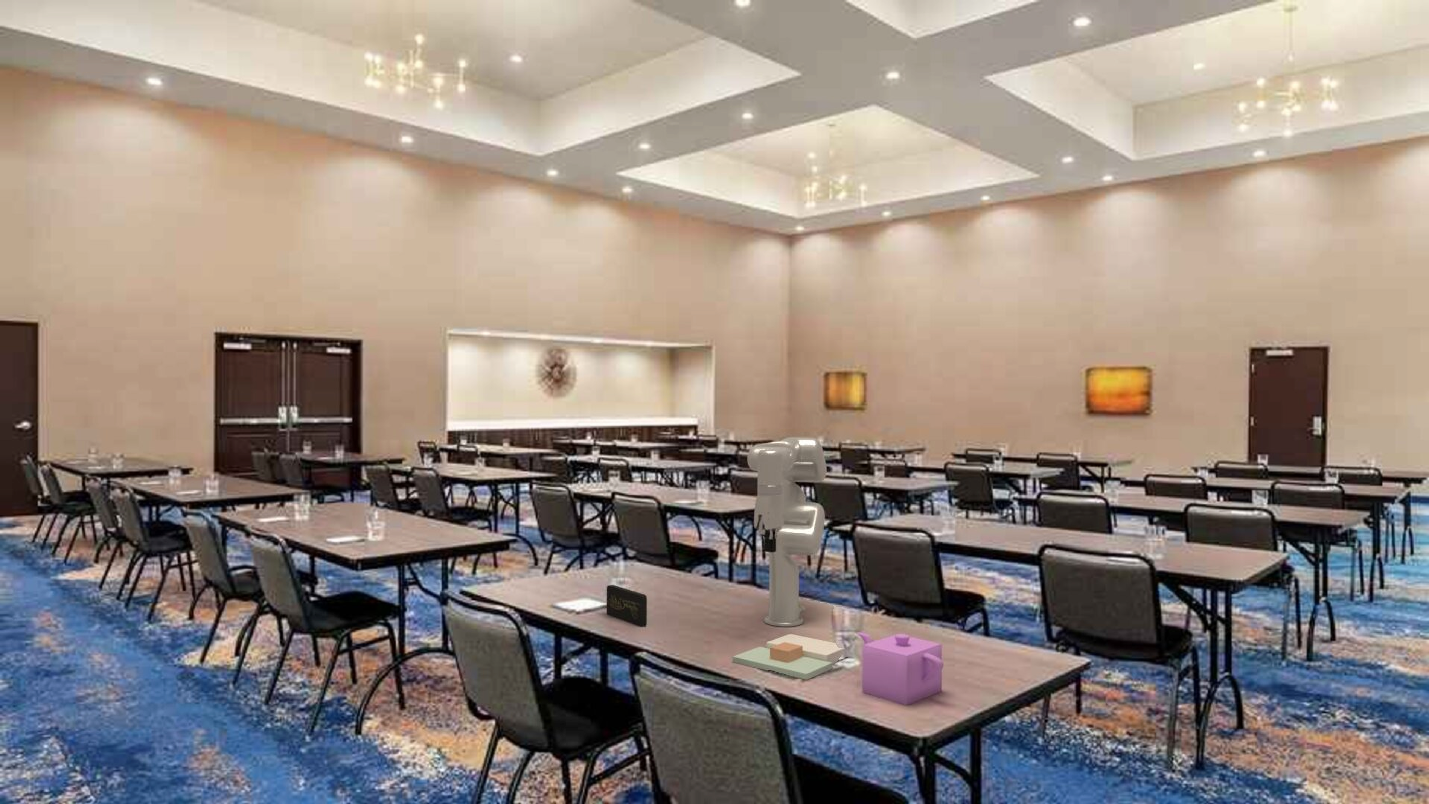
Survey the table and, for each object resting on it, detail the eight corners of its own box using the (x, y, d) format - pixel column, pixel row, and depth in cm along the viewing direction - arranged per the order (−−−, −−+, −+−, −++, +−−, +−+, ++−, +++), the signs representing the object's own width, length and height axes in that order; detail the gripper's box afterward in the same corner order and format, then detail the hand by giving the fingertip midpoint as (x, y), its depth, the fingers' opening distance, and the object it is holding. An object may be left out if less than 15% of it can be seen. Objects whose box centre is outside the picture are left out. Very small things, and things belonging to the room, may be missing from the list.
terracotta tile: (784, 652, 242) (784, 642, 242) (802, 656, 239) (802, 646, 239) (769, 658, 237) (769, 647, 237) (788, 662, 233) (788, 651, 233)
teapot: (874, 673, 230) (875, 619, 230) (959, 696, 212) (959, 638, 212) (839, 685, 220) (839, 630, 220) (924, 711, 201) (924, 650, 201)
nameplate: (646, 626, 277) (646, 595, 277) (641, 627, 276) (641, 595, 276) (611, 614, 293) (611, 584, 293) (606, 614, 292) (606, 585, 292)
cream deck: (790, 644, 257) (790, 633, 257) (849, 656, 244) (849, 646, 244) (766, 652, 248) (766, 642, 248) (826, 666, 235) (826, 655, 235)
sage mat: (760, 651, 249) (760, 646, 249) (832, 668, 233) (832, 662, 233) (732, 662, 239) (732, 656, 239) (806, 679, 224) (806, 674, 224)
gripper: (773, 487, 269) (773, 546, 270) (745, 492, 257) (745, 554, 258) (794, 489, 265) (794, 549, 265) (766, 494, 253) (766, 557, 253)
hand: (770, 551), depth 261 cm, fingers closed
